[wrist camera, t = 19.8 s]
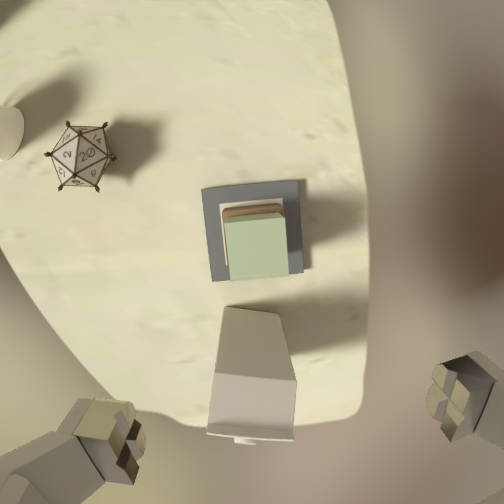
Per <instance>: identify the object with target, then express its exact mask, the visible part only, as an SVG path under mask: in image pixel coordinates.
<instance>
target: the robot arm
mask: <svg viewBox="0 0 504 504" xmlns="http://www.w3.org/2000/svg"><path fill="white" fill-rule="evenodd" d="M432 378H433V380H434V383H433V384H432V386H431V387H430V388H429V389H428V394H427V407H428V410H429V413H430V415H431V416H432V417H433V419H436V420H438V421H441V427H440V428H441V430H442V431H443V433H444V434H445V435H446V437H447V438H448V440H449V441H450V442H453V441H456V440H458V439H460V438H463V437H465V436H467V435H470V434H472V433H474V435H476V436H478V437H480V438H482V439H484V440H486V441H489V442H491V443H493V444H495V445H497V446H499V447H501V448H503V449H504V370H503V369H501V368H500V367H499V366H498V365H497V364H495V363H494V362H493V361H492V360H490V359H489V358H488V357H487V356H486V355H484V354H483V353H482V352H480V351H473V352H471V353H468V354H466V355H463V356H462V357H459V358H455V359H452V360H449V361H446V362H443V363H440V364H437V365H436V366H435V368H434V370H433V373H432ZM136 413H137V412H136V410H135V407H134V405H133V403H131V402H129V401H120V400H108V399H101V398H100V399H99V398H90V397H81V398H78V400H77V401H76V403H75V404H74V406H73V407H72V408H71V410H70V412H69V413H68V414H67V416H66V417H65V419H64V420H63V422H62V423H61V425H60V426H59V428H58V429H57V431H56V432H53V431H51V432H49V433H47V434H45V435H43V436H41V437H39V438H37V439H35V440H33V441H31V442H29V443H27V444H25V445H23V446H21V447H19V448H17V449H15V450H13V451H11V452H8V453H6V454H4V455H2V456H0V504H81V503H82V502H83V501H84V500H86V499H87V498H88V497H89V496H90V495H92V494H93V493H94V492H95V491H96V490H97V489H99V488H100V487H101V486H102V485H103V484H104V483H105V481H108V482H114V483H121V484H129V485H134V482H135V479H136V476H137V473H138V470H139V466H138V464H137V462H136V461H137V460H138V459H139V458H141V457H142V456H143V454H144V451H145V443H146V438H145V433H144V429H143V427H142V425H141V424H140V423H139V422H138V421H137V420H135V419H134V418H135V416H136ZM477 504H504V487H503V488H501V489H500V490H498V491H497V492H496V493H494V494H492V495H490V496H489V497H487V498H486V499H484V500H482V501H481V502H479V503H477Z"/></svg>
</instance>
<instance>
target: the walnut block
mask: <svg viewBox="0 0 504 504" xmlns="http://www.w3.org/2000/svg"><path fill="white" fill-rule="evenodd" d="M275 212H279V213H280V214H281V215H282V216H284V214H283V206H282V205H280V204H278V203H272V204H261V205H250V206H240V207H230V208H224V210H223V211H222V219H223V229H224V238H225V247H226V256H227V265H228V271H229V262H228V253H227V244H226V235H225V226H224V223H225V221H226V219H227V217H233V216H243V215H253V214H264V213H275Z"/></svg>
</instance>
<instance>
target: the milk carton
mask: <svg viewBox="0 0 504 504" xmlns="http://www.w3.org/2000/svg"><path fill="white" fill-rule="evenodd" d="M296 388H297V381H296V377H295V373H294V369H293V365H292V362H291V358H290V354H289V350H288V346H287V342H286V339H285V335H284V331H283V327H282V324H281V320H280V316H279V314H277V313H270V312H262V311H255V310H247V309H239V308H232V307H224V309H223V315H222V322H221V328H220V335H219V342H218V348H217V355H216V362H215V369H214V376H213V383H212V391H211V399H210V407H209V416H208V424H207V432H206V434H208V435H216V436H225V437H234V438H235V439H234V442H235V443H240V444H255V445H256V444H258V440H272V441H294V436H293V423H294V412H295V401H296Z"/></svg>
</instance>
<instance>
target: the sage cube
mask: <svg viewBox="0 0 504 504" xmlns="http://www.w3.org/2000/svg"><path fill="white" fill-rule="evenodd" d="M224 226H225V235H226V244H227V253H228V262H229V271H230V280H231V281H241V280H251V279H262V278H272V277H282V276H289V268H288V253H287V239H286V225H285V217H284V216H282V215H281V214H280V213H279V212H275V213H264V214H253V215H243V216H233V217H227V219H226V221H225V223H224Z"/></svg>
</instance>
